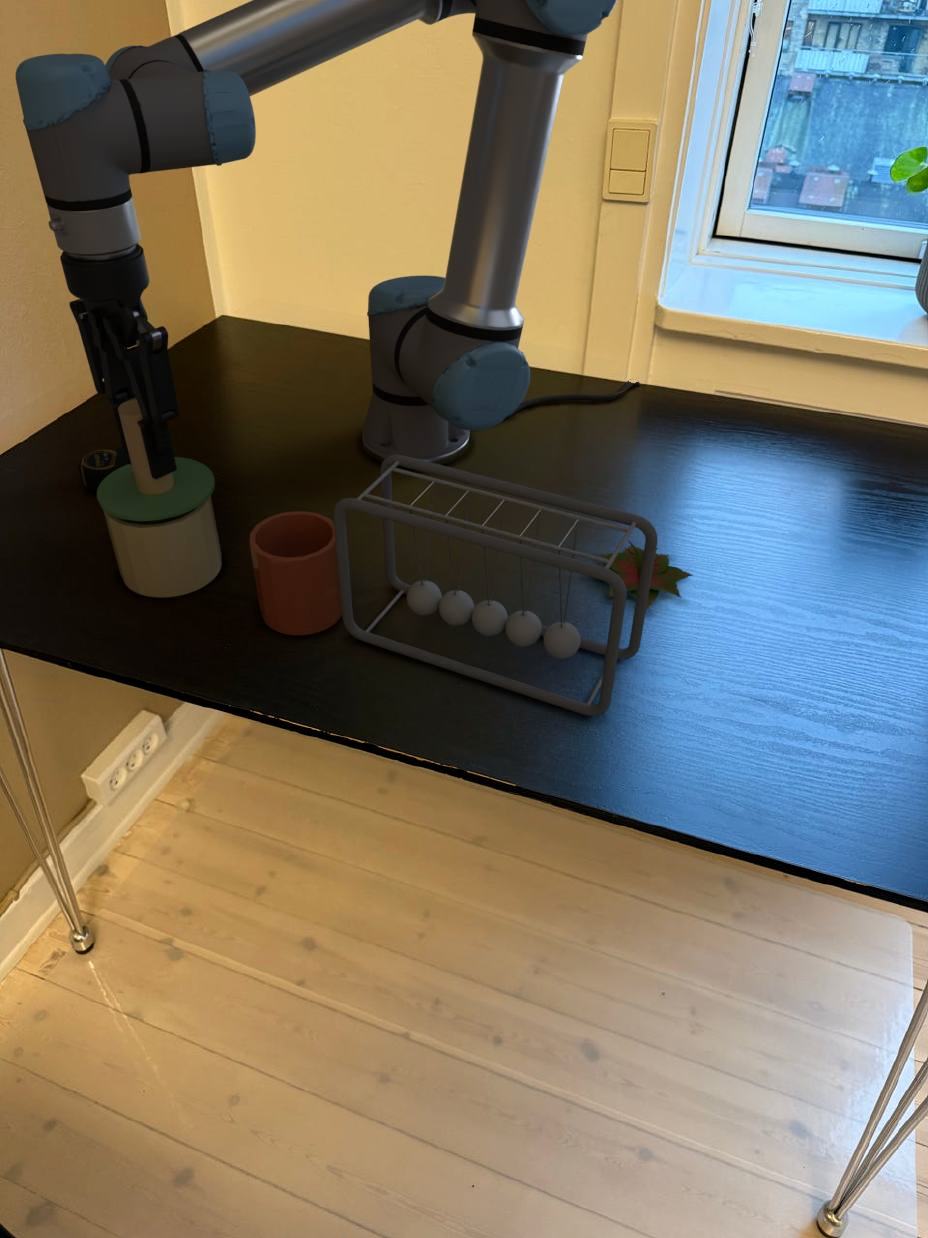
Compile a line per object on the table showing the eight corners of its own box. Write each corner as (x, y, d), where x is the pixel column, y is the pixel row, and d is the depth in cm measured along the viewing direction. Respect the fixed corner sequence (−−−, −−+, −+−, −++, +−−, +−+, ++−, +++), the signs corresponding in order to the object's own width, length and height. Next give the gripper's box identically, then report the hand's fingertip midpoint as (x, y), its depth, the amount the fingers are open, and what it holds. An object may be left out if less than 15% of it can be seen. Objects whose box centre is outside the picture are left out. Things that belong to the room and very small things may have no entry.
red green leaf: (711, 579, 112) (718, 547, 109) (650, 625, 105) (656, 592, 102) (628, 538, 118) (633, 507, 116) (566, 578, 112) (569, 546, 109)
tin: (223, 537, 118) (211, 469, 112) (219, 593, 109) (206, 523, 103) (128, 544, 116) (110, 476, 110) (116, 601, 108) (97, 531, 102)
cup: (341, 581, 111) (335, 508, 105) (346, 631, 104) (340, 556, 98) (261, 587, 110) (250, 514, 103) (261, 639, 103) (249, 563, 96)
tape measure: (138, 492, 125) (132, 467, 123) (83, 500, 124) (76, 475, 121) (135, 467, 130) (129, 443, 128) (82, 474, 129) (76, 450, 126)
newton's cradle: (638, 660, 101) (662, 519, 89) (605, 724, 93) (627, 579, 82) (389, 584, 111) (382, 448, 99) (342, 636, 103) (329, 496, 92)
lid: (218, 461, 112) (202, 376, 105) (213, 520, 102) (195, 431, 96) (107, 470, 110) (84, 383, 104) (91, 530, 101) (65, 440, 94)
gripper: (16, 237, 91) (77, 453, 106) (118, 279, 83) (169, 508, 98) (85, 218, 96) (135, 428, 111) (189, 257, 87) (228, 479, 102)
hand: (151, 465), depth 104 cm, fingers closed on lid, 4 cm apart
